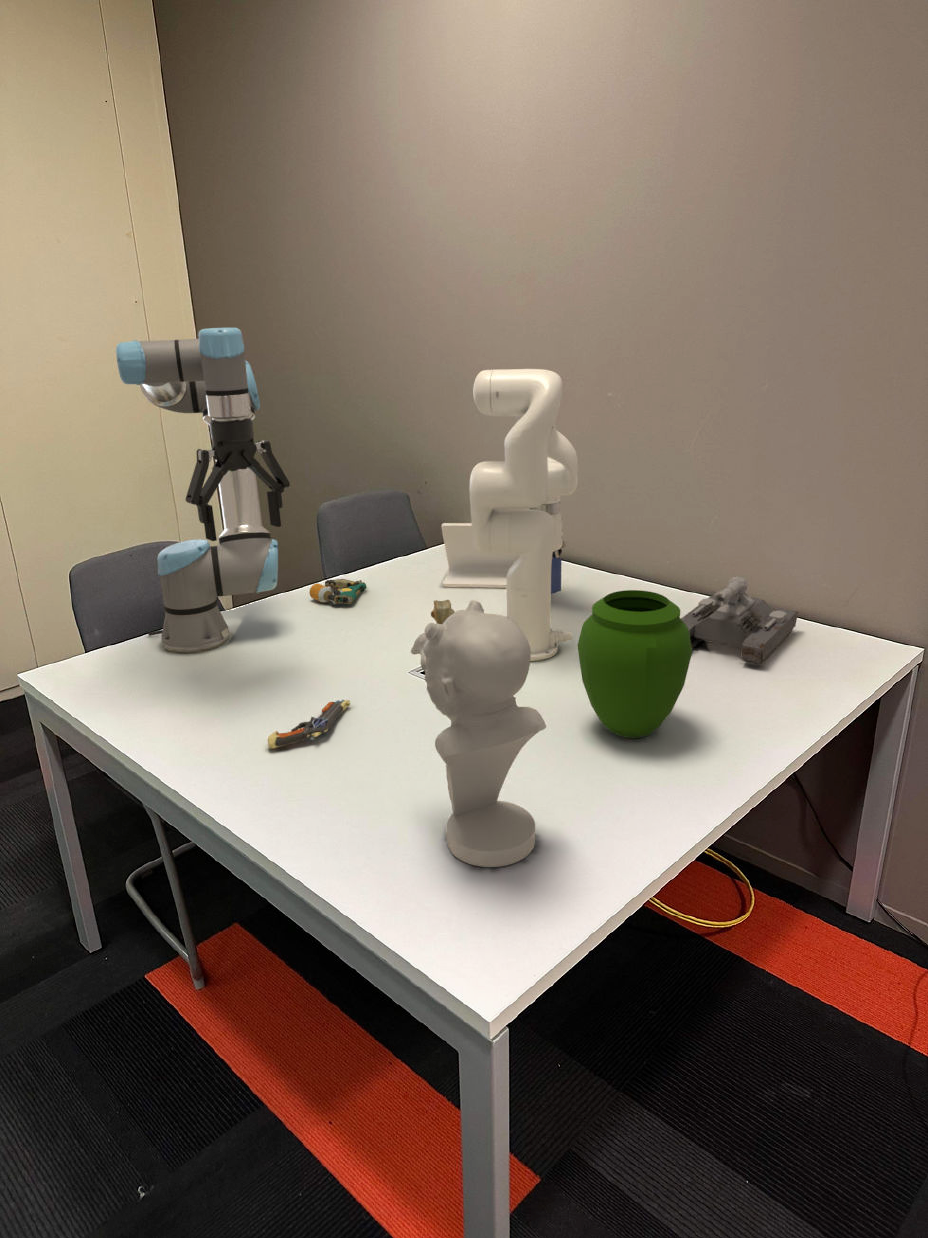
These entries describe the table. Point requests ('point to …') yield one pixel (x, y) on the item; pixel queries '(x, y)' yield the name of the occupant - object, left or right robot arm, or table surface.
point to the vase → (634, 660)
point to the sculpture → (441, 611)
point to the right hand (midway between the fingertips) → (544, 577)
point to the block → (555, 575)
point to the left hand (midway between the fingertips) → (244, 532)
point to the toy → (740, 622)
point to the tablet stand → (472, 560)
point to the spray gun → (337, 591)
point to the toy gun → (309, 726)
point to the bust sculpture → (481, 729)
